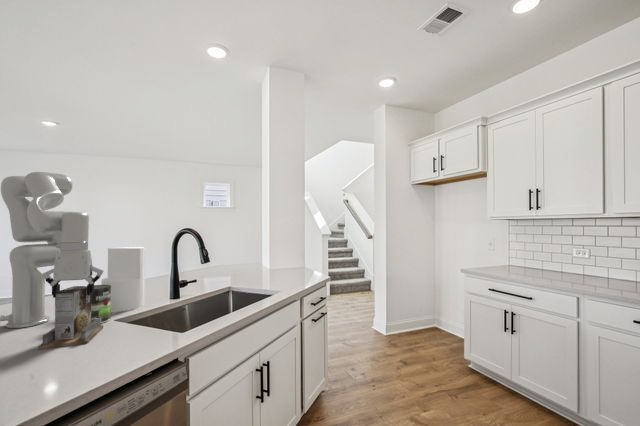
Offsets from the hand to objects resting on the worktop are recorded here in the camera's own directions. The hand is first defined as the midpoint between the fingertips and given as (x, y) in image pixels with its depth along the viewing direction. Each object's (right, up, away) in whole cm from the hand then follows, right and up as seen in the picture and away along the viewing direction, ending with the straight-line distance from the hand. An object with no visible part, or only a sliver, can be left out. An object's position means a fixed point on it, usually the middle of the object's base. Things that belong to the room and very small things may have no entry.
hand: (73, 295), depth 106 cm
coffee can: (-4, -15, +17) cm, 23 cm away
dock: (+1, -15, -1) cm, 15 cm away
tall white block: (-7, -16, +38) cm, 42 cm away
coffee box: (+1, -14, -1) cm, 14 cm away
